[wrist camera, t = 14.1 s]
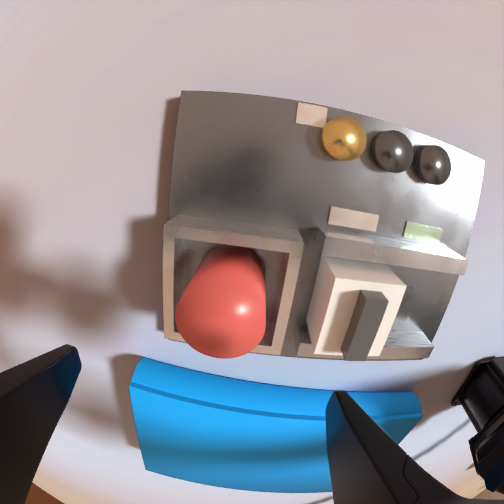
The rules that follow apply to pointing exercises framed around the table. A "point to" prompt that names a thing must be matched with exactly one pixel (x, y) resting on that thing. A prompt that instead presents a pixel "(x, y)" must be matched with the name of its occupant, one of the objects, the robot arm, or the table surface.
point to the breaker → (352, 307)
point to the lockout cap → (224, 304)
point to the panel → (317, 209)
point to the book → (246, 428)
